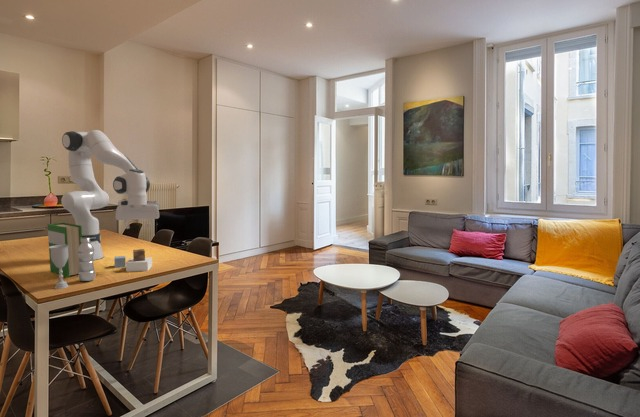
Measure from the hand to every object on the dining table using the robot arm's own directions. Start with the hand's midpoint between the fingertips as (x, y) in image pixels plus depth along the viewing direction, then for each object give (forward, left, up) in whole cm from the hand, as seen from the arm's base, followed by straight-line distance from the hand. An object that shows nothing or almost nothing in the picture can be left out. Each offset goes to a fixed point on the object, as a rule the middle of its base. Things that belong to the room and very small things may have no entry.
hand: (138, 228), depth 190 cm
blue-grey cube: (-9, +9, -21) cm, 25 cm away
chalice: (-31, -20, -21) cm, 43 cm away
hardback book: (-32, +5, -21) cm, 39 cm away
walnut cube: (0, -1, -17) cm, 17 cm away
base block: (0, -1, -22) cm, 22 cm away
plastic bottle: (-22, -14, -21) cm, 34 cm away
